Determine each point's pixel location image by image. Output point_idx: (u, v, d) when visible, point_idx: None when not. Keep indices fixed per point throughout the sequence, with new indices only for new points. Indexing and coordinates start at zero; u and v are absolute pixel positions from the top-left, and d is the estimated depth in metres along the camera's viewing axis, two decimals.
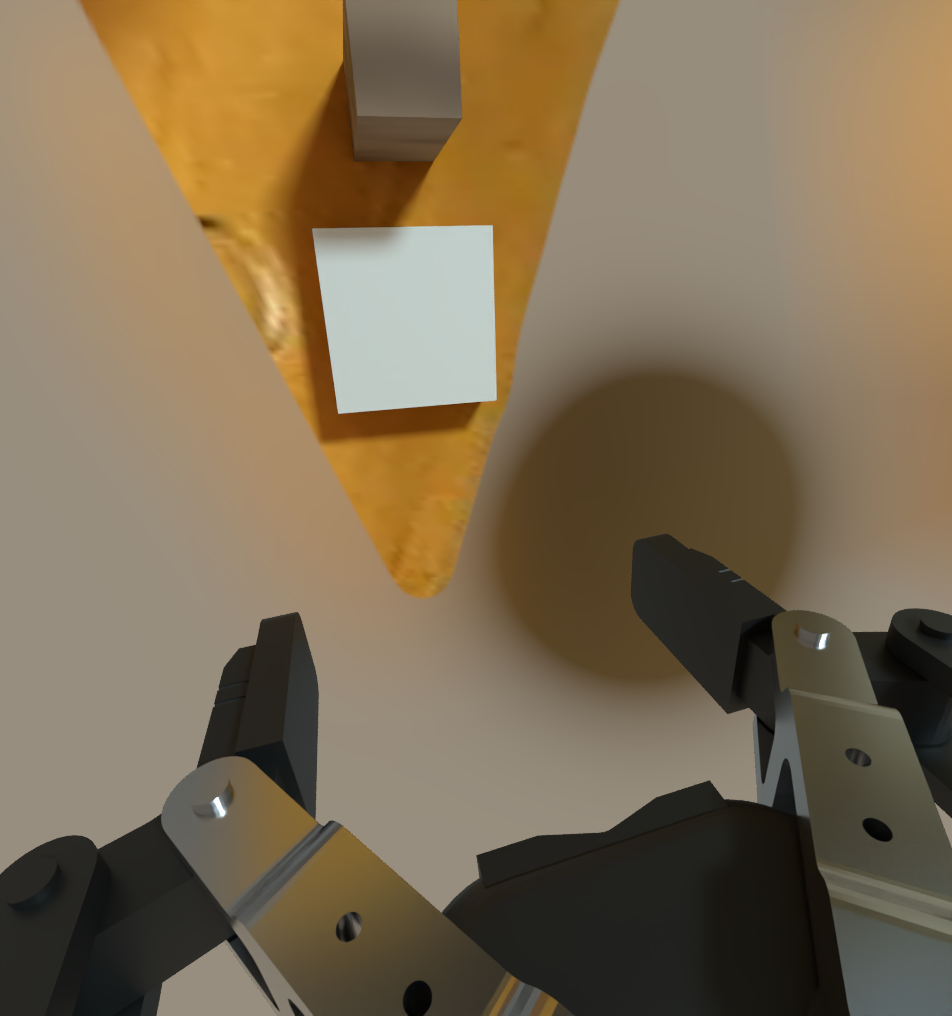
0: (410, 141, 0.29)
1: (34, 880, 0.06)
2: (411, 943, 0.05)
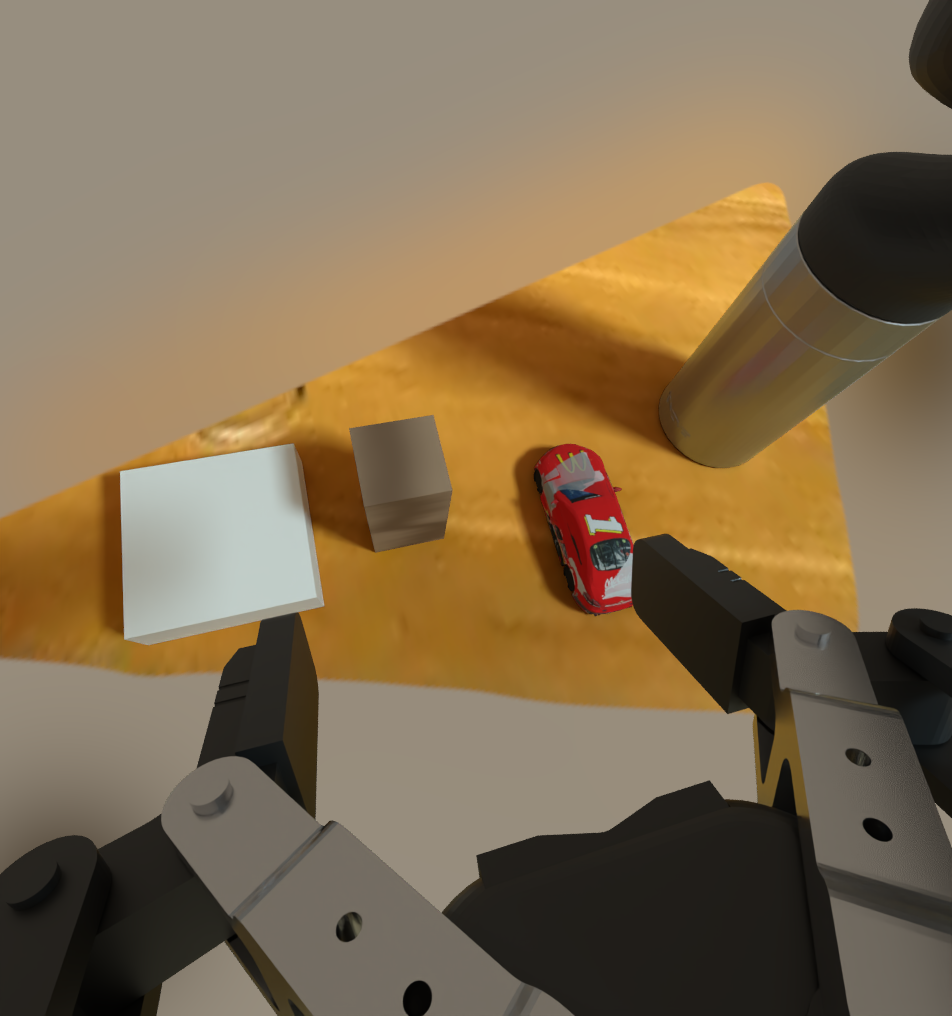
0: None
1: (35, 880, 0.06)
2: (411, 943, 0.05)
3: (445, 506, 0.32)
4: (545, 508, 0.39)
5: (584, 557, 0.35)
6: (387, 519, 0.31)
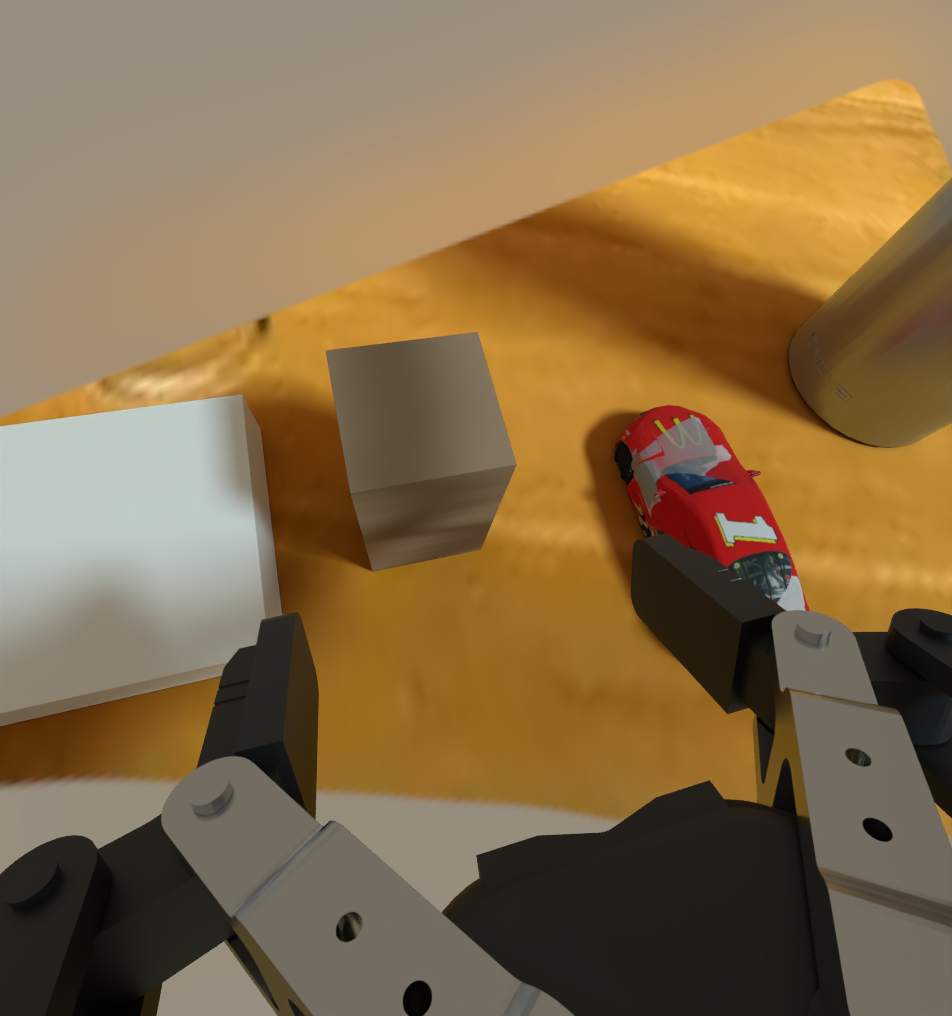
0: None
1: (34, 880, 0.06)
2: (411, 943, 0.05)
3: (496, 496, 0.18)
4: (636, 504, 0.25)
5: None
6: (393, 517, 0.18)
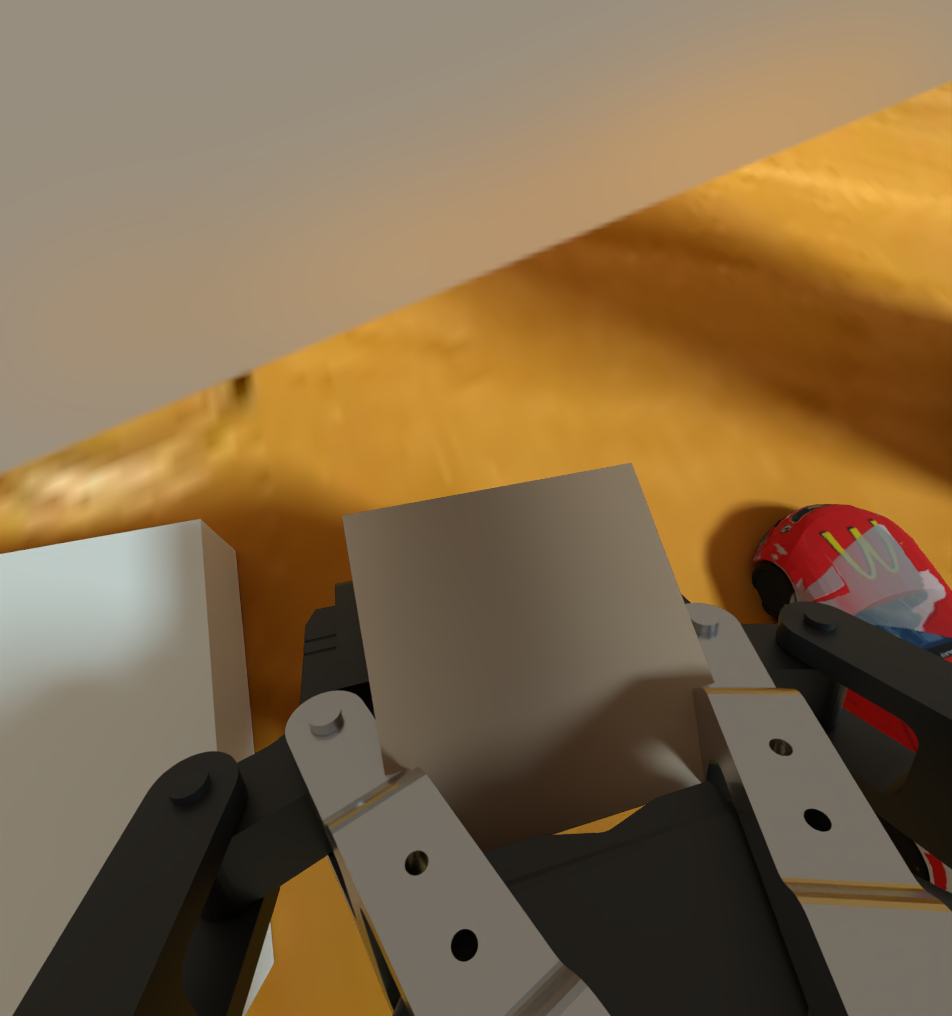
0: None
1: (189, 783, 0.07)
2: (467, 894, 0.05)
3: None
4: None
5: None
6: None
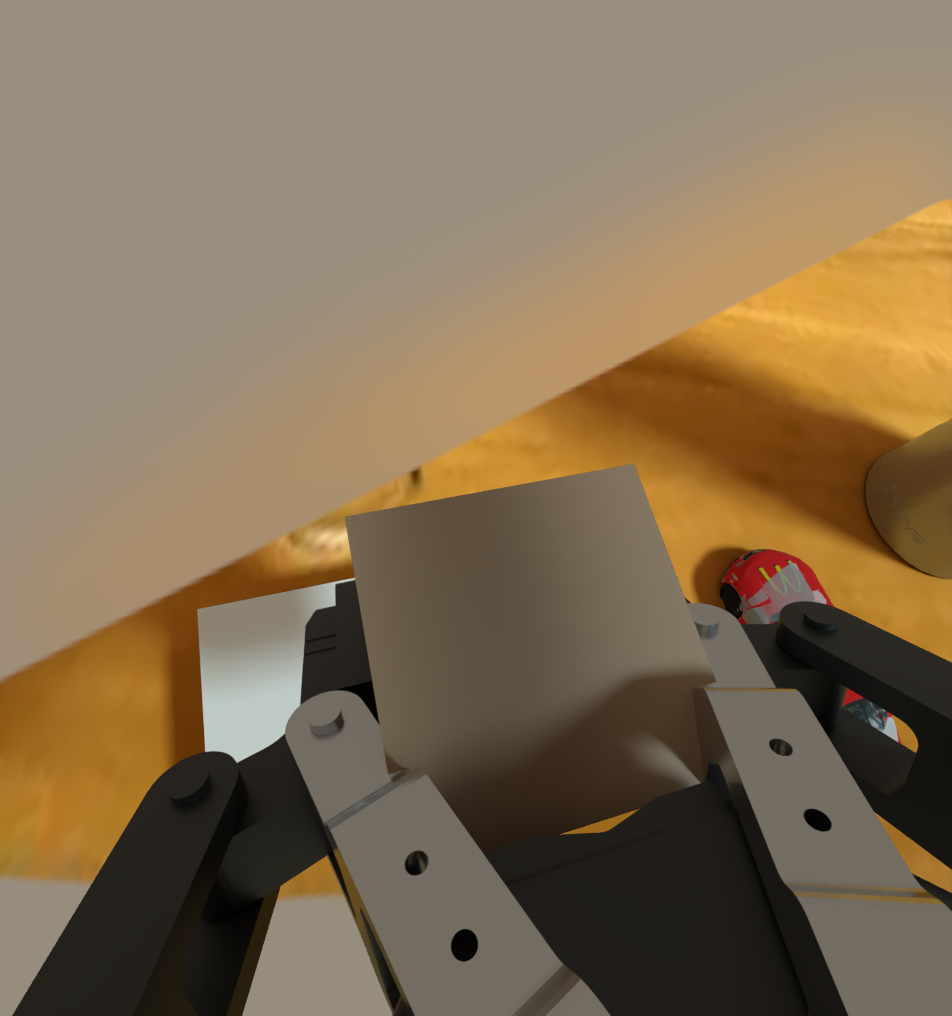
0: None
1: (190, 782, 0.07)
2: (467, 895, 0.05)
3: None
4: None
5: None
6: None
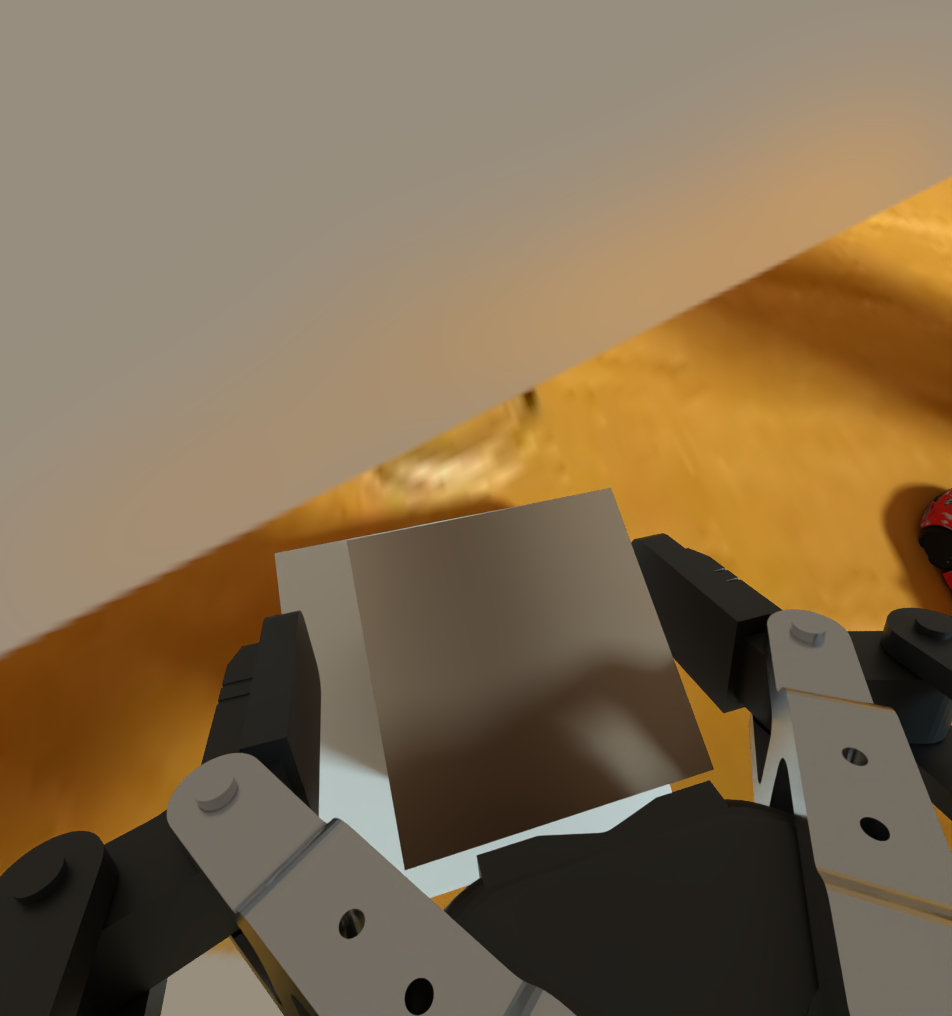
0: None
1: (42, 874, 0.06)
2: (413, 941, 0.05)
3: None
4: None
5: None
6: None
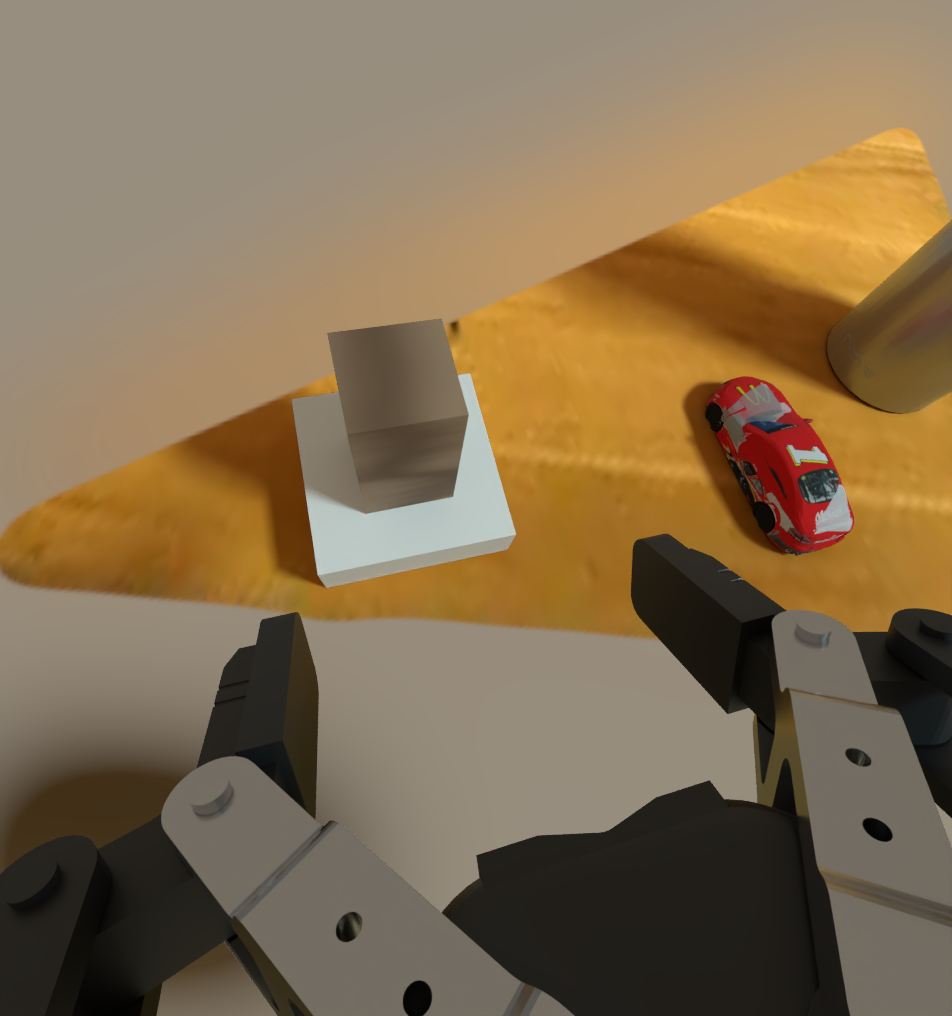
0: None
1: (35, 879, 0.06)
2: (411, 943, 0.05)
3: (458, 443, 0.24)
4: (724, 445, 0.36)
5: (790, 490, 0.33)
6: (380, 459, 0.23)
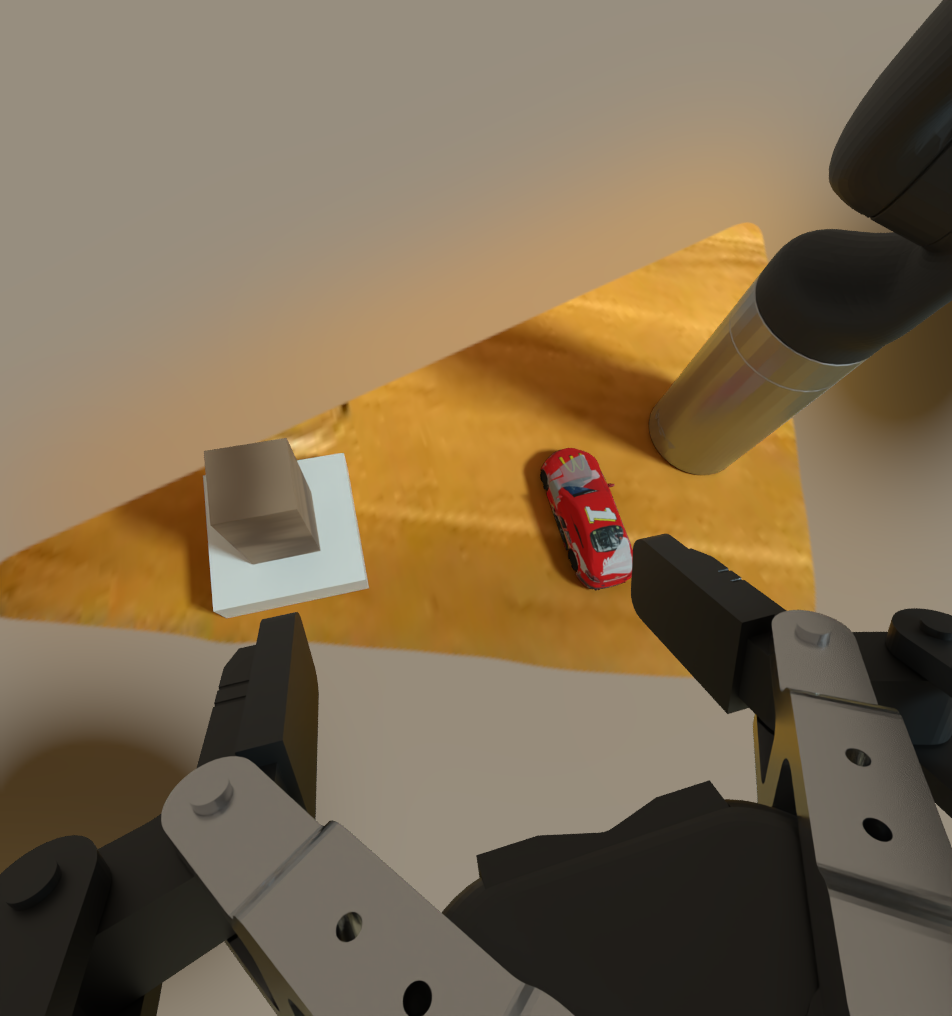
0: None
1: (34, 880, 0.06)
2: (411, 943, 0.05)
3: (300, 523, 0.34)
4: (551, 502, 0.47)
5: (585, 541, 0.43)
6: (244, 535, 0.34)
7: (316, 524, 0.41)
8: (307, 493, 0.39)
